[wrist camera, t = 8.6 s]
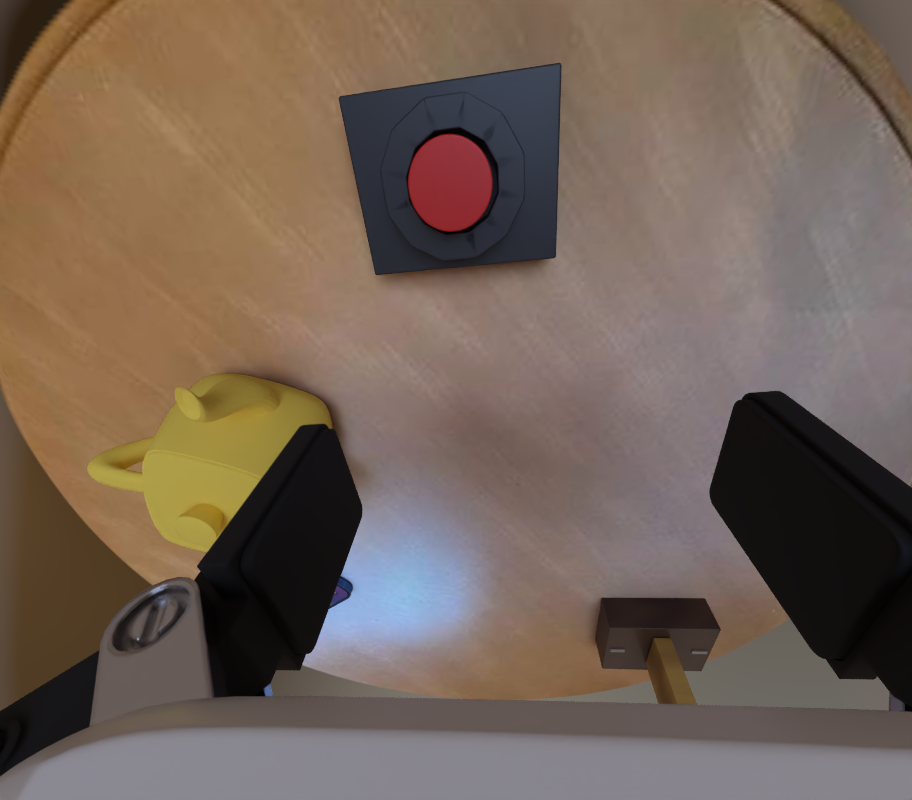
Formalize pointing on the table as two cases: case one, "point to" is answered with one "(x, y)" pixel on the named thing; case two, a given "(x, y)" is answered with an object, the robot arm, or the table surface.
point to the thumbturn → (668, 674)
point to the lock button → (450, 182)
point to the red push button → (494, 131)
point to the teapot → (209, 453)
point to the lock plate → (654, 631)
